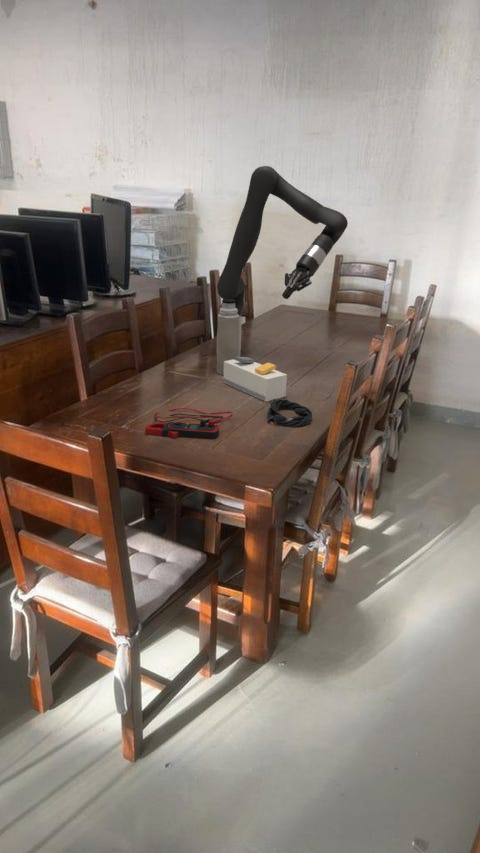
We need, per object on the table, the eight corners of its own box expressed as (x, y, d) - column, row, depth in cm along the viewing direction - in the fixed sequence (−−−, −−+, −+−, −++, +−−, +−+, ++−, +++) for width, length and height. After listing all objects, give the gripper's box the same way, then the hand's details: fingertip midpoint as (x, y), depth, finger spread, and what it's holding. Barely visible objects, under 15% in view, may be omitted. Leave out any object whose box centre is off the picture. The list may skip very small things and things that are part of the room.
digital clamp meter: (227, 429, 167) (141, 423, 169) (227, 444, 169) (141, 437, 171) (236, 400, 189) (159, 395, 191) (236, 413, 190) (160, 408, 192)
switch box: (222, 382, 216) (222, 361, 213) (242, 377, 222) (243, 357, 219) (264, 401, 199) (266, 379, 196) (285, 396, 205) (286, 374, 202)
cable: (271, 405, 197) (272, 393, 195) (313, 409, 195) (314, 397, 193) (264, 425, 182) (265, 412, 180) (309, 430, 180) (311, 416, 178)
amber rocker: (255, 373, 203) (254, 368, 202) (268, 366, 206) (268, 362, 205) (263, 376, 200) (262, 371, 199) (276, 369, 203) (275, 365, 202)
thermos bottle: (222, 368, 232) (223, 296, 221) (240, 371, 229) (243, 299, 218) (213, 373, 226) (214, 300, 214) (232, 376, 223) (234, 302, 211)
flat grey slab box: (233, 360, 211) (234, 356, 211) (246, 361, 215) (247, 357, 214) (240, 363, 208) (241, 359, 208) (253, 364, 212) (254, 359, 212)
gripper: (294, 251, 218) (267, 287, 216) (319, 255, 209) (292, 293, 206) (303, 265, 223) (277, 300, 221) (328, 270, 214) (301, 307, 212)
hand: (284, 297), depth 214 cm, fingers closed
